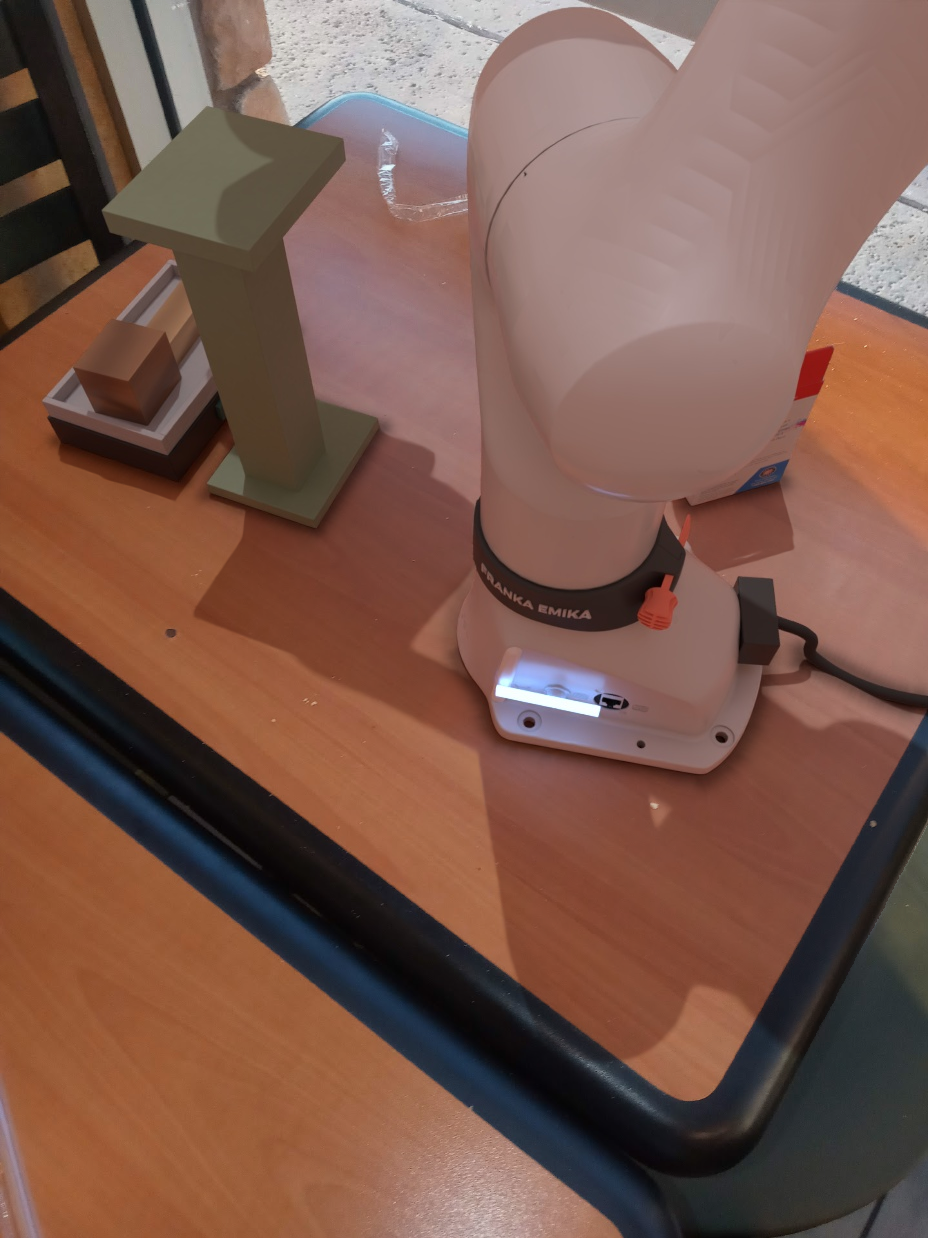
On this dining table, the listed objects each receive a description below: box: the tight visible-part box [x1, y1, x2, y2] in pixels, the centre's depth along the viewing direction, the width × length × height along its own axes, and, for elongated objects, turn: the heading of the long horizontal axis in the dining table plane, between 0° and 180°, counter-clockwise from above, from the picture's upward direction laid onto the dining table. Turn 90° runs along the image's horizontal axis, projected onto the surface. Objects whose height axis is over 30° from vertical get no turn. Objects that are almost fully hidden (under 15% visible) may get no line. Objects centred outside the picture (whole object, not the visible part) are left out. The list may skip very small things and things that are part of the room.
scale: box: [41, 259, 227, 483], centre depth 80 cm, size 12×20×5 cm, turn 157°
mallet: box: [72, 280, 200, 426], centre depth 77 cm, size 5×17×5 cm, turn 161°
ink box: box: [685, 345, 835, 506], centre depth 70 cm, size 8×5×15 cm, turn 108°
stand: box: [101, 105, 380, 530], centre depth 67 cm, size 10×12×26 cm
